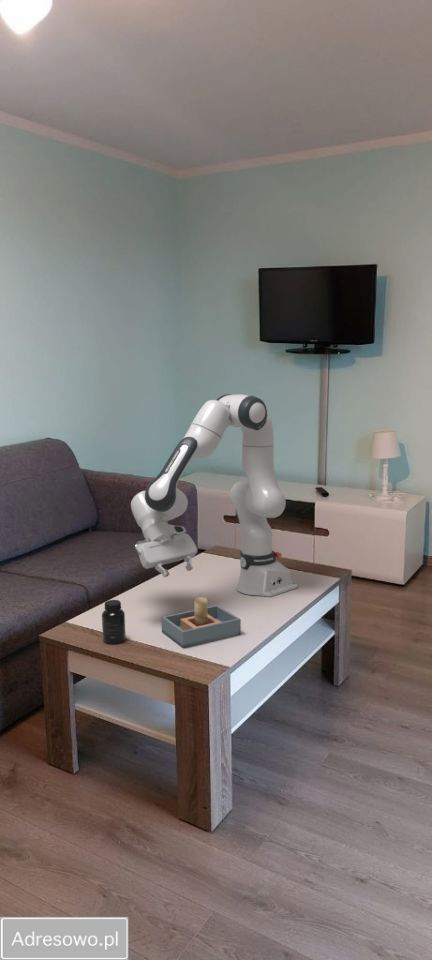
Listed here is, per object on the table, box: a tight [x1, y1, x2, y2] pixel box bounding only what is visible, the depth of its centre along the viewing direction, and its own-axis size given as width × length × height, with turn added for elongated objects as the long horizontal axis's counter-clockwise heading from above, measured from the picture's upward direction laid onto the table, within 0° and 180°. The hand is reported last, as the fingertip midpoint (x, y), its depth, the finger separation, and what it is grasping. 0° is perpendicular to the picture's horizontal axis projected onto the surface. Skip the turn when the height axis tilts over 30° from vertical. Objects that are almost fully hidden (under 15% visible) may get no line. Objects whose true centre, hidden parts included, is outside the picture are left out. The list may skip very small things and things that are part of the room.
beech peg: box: [193, 596, 208, 626], centre depth 222 cm, size 4×4×10 cm
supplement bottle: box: [101, 599, 126, 645], centre depth 218 cm, size 7×7×12 cm
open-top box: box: [161, 604, 242, 649], centre depth 223 cm, size 20×14×5 cm
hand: (178, 572), depth 229 cm, fingers open, 8 cm apart
